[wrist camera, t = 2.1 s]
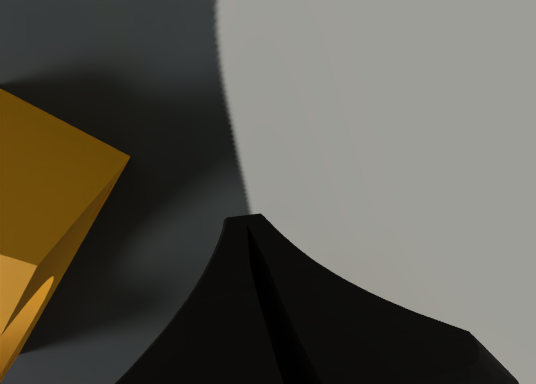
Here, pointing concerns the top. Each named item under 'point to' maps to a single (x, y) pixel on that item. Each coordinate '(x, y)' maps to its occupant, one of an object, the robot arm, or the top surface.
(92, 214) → the pipe clamp
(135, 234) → the top surface
